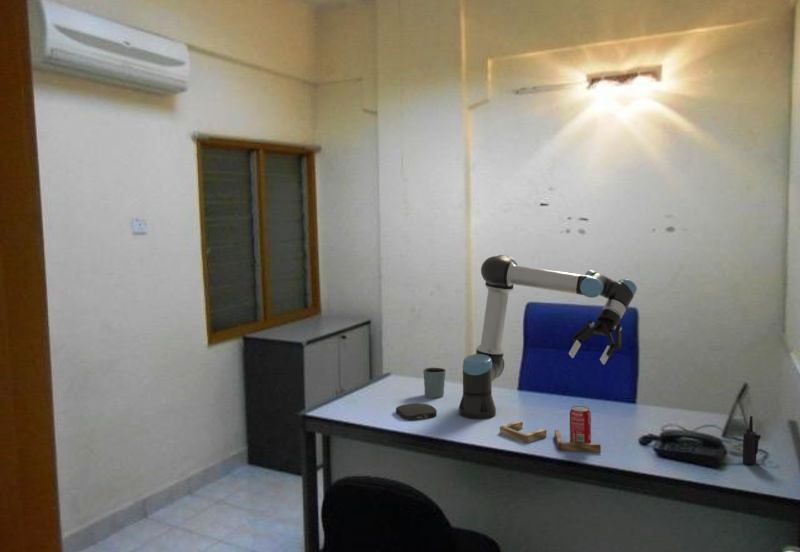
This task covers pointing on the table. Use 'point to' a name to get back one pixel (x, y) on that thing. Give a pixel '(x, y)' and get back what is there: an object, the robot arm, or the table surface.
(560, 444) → the bracket
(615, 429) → the table surface
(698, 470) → the table surface
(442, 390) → the grey-green cup
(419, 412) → the media streaming box
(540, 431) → the wooden u-channel
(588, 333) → the robot arm
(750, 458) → the two-way radio
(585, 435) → the soda can
